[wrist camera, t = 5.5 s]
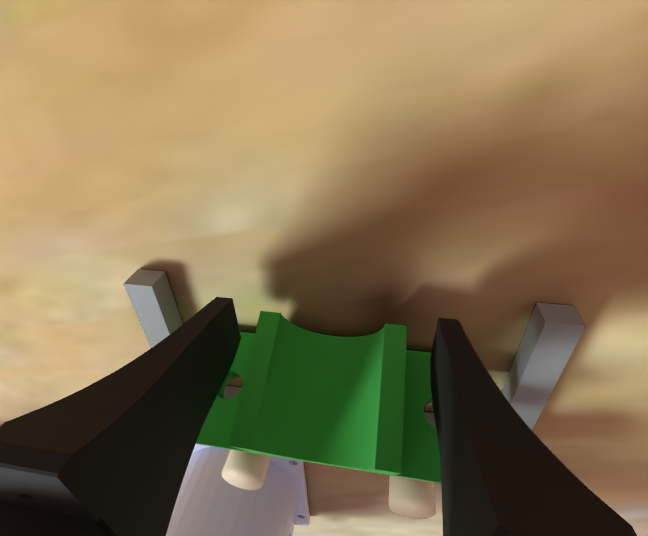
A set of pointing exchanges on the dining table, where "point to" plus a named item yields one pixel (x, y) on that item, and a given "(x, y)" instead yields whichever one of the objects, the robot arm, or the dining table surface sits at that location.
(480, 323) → the dining table surface
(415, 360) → the pipe clamp
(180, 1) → the dining table surface
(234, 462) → the peg cradle
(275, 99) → the dining table surface
